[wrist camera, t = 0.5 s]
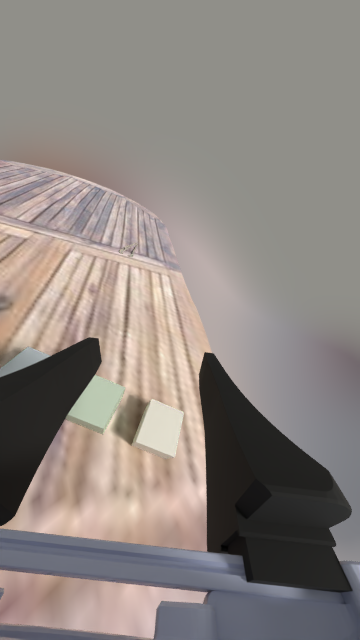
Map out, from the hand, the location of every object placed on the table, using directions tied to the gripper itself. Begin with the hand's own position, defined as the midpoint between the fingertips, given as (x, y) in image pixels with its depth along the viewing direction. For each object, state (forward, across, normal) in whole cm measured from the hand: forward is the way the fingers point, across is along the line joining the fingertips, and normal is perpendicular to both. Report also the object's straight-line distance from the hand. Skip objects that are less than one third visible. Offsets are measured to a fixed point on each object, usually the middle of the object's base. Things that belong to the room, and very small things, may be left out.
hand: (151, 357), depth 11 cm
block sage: (+5, +8, +15) cm, 18 cm away
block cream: (+4, 0, +18) cm, 18 cm away
